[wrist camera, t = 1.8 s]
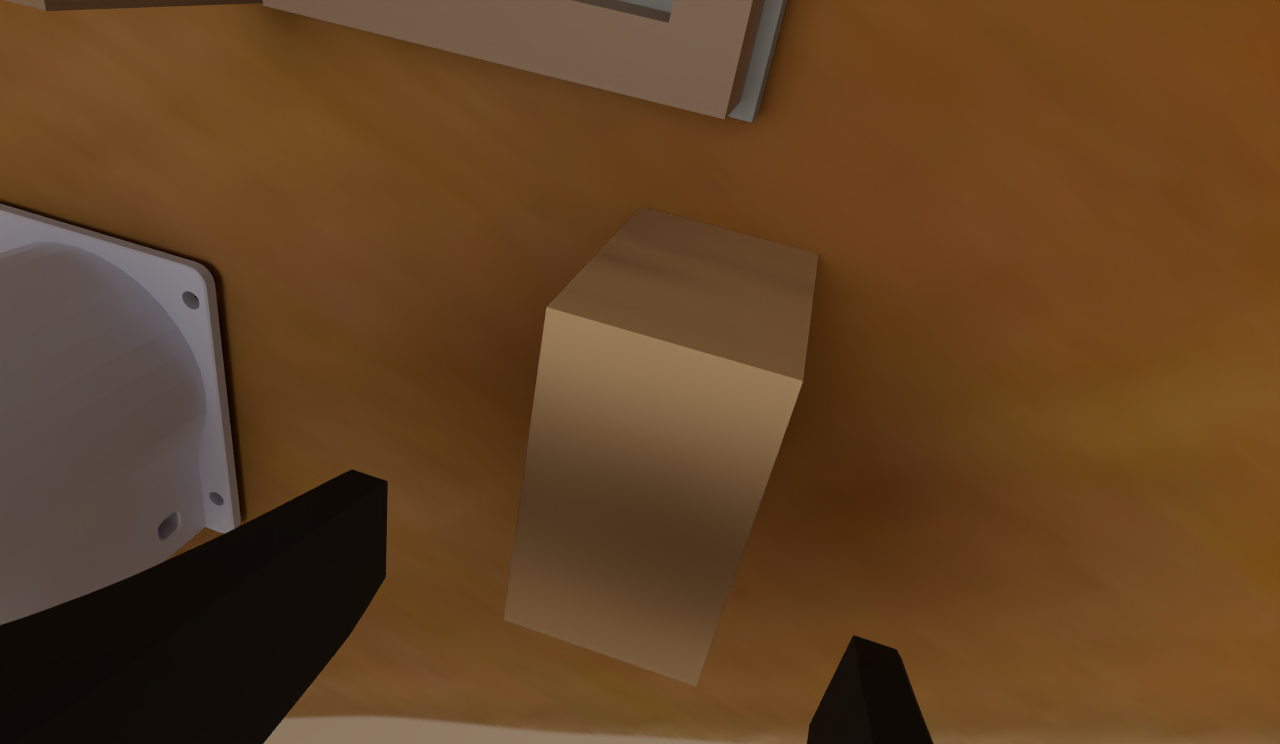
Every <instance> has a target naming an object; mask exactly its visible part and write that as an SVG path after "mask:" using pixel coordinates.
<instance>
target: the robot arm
mask: <svg viewBox="0 0 1280 744" xmlns="http://www.w3.org/2000/svg"><path fill="white" fill-rule="evenodd" d="M194 294H195V296H196V297H197V298H198V300H199V301H198V300H197V299H196V298H195V296H194ZM387 486H388V481H385V480H382V479H379V478H376V477H373V476H370V475H367V474H364V473H361V472H358V471H355V470H350V471H348V472H346V473H344V474H341V475H339V476H337V477H335V478H333V479H331V480H330V481H328V482H326V483H324V484H322V485H320V486H318V487H316V488H314V489H312V490H310V491H308V492H306V493H304V494H302V495H300V496H298V497H296V498H294V499H293V500H291V501H289V502H287V503H285V504H283V505H281V506H279V507H277V508H275V509H273V510H271V511H269V512H267V513H265V514H263V515H261V516H259V517H257V518H255V519H253V520H251V521H249V522H247V523H245V524H243V525H241V526H239V525H240V522H241V518H240V509H239V499H238V490H237V481H236V472H235V463H234V454H233V445H232V436H231V427H230V417H229V408H228V399H227V390H226V381H225V372H224V363H223V354H222V345H221V335H220V326H219V317H218V308H217V299H216V290H215V283H214V279H213V276H212V275H211V273H210V272H209V270H208V269H207V268H205V267H204V266H203V265H201V264H199V263H197V262H195V261H191V260H188V259H184V258H181V257H178V256H174V255H171V254H168V253H164V252H161V251H158V250H154V249H151V248H148V247H144V246H141V245H138V244H134V243H131V242H127V241H124V240H121V239H117V238H114V237H111V236H107V235H104V234H101V233H97V232H94V231H91V230H87V229H84V228H80V227H77V226H74V225H70V224H67V223H64V222H60V221H57V220H54V219H50V218H47V217H44V216H40V215H37V214H33V213H30V212H27V211H23V210H20V209H17V208H13V207H10V206H7V205H3V204H0V744H263V743H264V742H265V741H266V739H267V738H268V737H269V736H270V734H271V733H272V732H273V731H274V729H275V728H276V727H277V726H278V724H279V723H280V722H281V721H282V720H283V718H284V717H285V716H286V715H287V713H288V712H289V711H290V710H291V708H292V707H293V706H294V705H295V703H296V702H297V701H298V700H299V698H300V697H301V696H302V695H303V693H304V692H305V691H306V690H307V688H308V687H309V686H310V685H311V683H312V682H313V681H314V680H315V678H316V677H317V676H318V675H319V673H320V672H321V671H322V670H323V668H324V667H325V666H326V665H327V663H328V662H329V661H330V660H331V658H332V657H333V656H334V655H335V653H336V652H337V651H338V649H339V648H340V647H341V646H342V644H343V643H344V642H345V640H346V639H347V638H348V637H349V635H350V634H351V632H352V631H353V629H354V628H355V626H356V624H357V623H358V621H359V620H360V618H361V617H362V615H363V613H364V612H365V610H366V609H367V607H368V605H369V604H370V602H371V600H372V599H373V597H374V595H375V594H376V592H377V590H378V589H379V587H380V586H381V584H382V582H383V581H384V579H385V577H386V536H387ZM238 526H239V527H238ZM205 527H206V528H209V529H212V530H215V531H218V532H220V533H225V534H223V535H221V536H219V537H217V538H215V539H213V540H211V541H209V542H207V543H204V544H202V545H200V546H198V547H195V548H193V549H191V550H189V551H187V552H184V553H182V554H180V555H178V556H175V557H173V558H171V559H169V560H167V559H168V558H169V557H170V556H172V555H173V554H174V553H175V552H176V551H178V550H179V549H180V548H181V547H182V546H184V545H185V544H186V543H187V542H188V541H189V540H191V539H192V538H193V537H194V536H195V535H197V534H198V533H199V532H200V531H201V530H202V529H204V528H205ZM166 560H167V561H166ZM807 744H933V741H932V739H931V736H930V734H929V731H928V729H927V726H926V724H925V721H924V718H923V716H922V713H921V711H920V708H919V705H918V703H917V700H916V697H915V695H914V692H913V689H912V686H911V684H910V681H909V678H908V675H907V673H906V670H905V667H904V664H903V661H902V659H901V657H900V655H899V653H898V651H897V650H896V649H893V648H890V647H887V646H884V645H881V644H878V643H875V642H872V641H869V640H866V639H863V638H860V637H857V636H854V635H853V637H852V639H851V641H850V643H849V645H848V647H847V649H846V651H845V653H844V655H843V657H842V659H841V661H840V663H839V666H838V668H837V670H836V672H835V674H834V676H833V678H832V680H831V682H830V684H829V686H828V688H827V690H826V692H825V694H824V696H823V698H822V700H821V702H820V704H819V706H818V709H817V711H816V713H815V715H814V717H813V719H812V721H811V723H810V725H809V733H808V740H807Z"/></svg>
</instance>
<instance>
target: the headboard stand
mask: <svg viewBox="0 0 1280 744" xmlns="http://www.w3.org/2000/svg"><path fill="white" fill-rule="evenodd" d="M6 1H10V2H13V3H17V4H21V5H25V6H29V7H33V8H37V9H41V10H44V11H57V10H84V9H111V8H138V7H165V6H192V5H220V4H247V3H263V6H267V7H271V8H275V9H279V10H283V11H287V12H291V13H295V14H299V15H303V16H307V17H311V18H315V19H319V20H323V21H327V22H331V23H335V24H340V25H344V26H348V27H352V28H356V29H360V30H364V31H368V32H372V33H376V34H380V35H384V36H388V37H392V38H396V39H400V40H404V41H408V42H413V43H417V44H421V45H425V46H429V47H433V48H437V49H441V50H445V51H449V52H453V53H457V54H461V55H465V56H469V57H473V58H477V59H481V60H486V61H490V62H494V63H498V64H502V65H506V66H510V67H514V68H518V69H522V70H526V71H530V72H534V73H538V74H542V75H546V76H550V77H554V78H558V79H563V80H567V81H571V82H575V83H579V84H583V85H587V86H591V87H595V88H599V89H603V90H607V91H611V92H615V93H619V94H623V95H627V96H631V97H636V98H640V99H644V100H648V101H652V102H656V103H660V104H664V105H668V106H672V107H676V108H680V109H684V110H688V111H692V112H696V113H700V114H704V115H709V116H713V117H717V118H721V119H725V118H726V117H731V118H736V119H740V120H744V121H748V122H753V120H754V119H755V117H756V116H757V114H758V113H759V110H760V106H761V102H762V98H763V94H764V90H765V86H766V83H767V79H768V75H769V71H770V67H771V63H772V59H773V56H774V52H775V48H776V44H777V40H778V36H779V32H780V29H781V25H782V21H783V17H784V13H785V9H786V5H787V1H788V0H6Z"/></svg>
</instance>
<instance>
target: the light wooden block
mask: <svg viewBox="0 0 1280 744" xmlns="http://www.w3.org/2000/svg"><path fill="white" fill-rule="evenodd" d="M818 256H819V254H818V253H815V252H811V251H807V250H803V249H800V248H796V247H792V246H788V245H784V244H781V243H777V242H773V241H769V240H766V239H762V238H758V237H754V236H751V235H747V234H743V233H739V232H735V231H732V230H728V229H724V228H720V227H717V226H713V225H709V224H705V223H702V222H698V221H694V220H690V219H686V218H683V217H679V216H675V215H671V214H668V213H664V212H660V211H656V210H653V209H649V208H645V207H640V208H639V209H638V210H637V211H636V212H635V213H634V215H633V216H632V217H631V218H630V219H629V220H628V221H627V222H626V223H625V224H624V225H623V226H622V227H621V228H620V229H619V231H618V232H617V233H616V234H615V235H614V236H613V237H612V238H611V239H610V240H609V241H608V242H607V243H606V244H605V245H604V246H603V248H602V249H601V250H600V251H599V252H598V253H597V254H596V255H595V256H594V257H593V258H592V259H591V260H590V261H589V262H588V263H587V265H586V266H585V267H584V268H583V269H582V270H581V271H580V272H579V273H578V274H577V275H576V276H575V277H574V278H573V279H572V281H571V282H570V283H569V284H568V285H567V286H566V287H565V288H564V289H563V290H562V291H561V292H560V293H559V294H558V295H557V296H556V298H555V299H554V300H553V301H552V302H551V303H550V304H549V305H548V306H547V307H546V314H545V322H544V329H543V336H542V343H541V351H540V358H539V365H538V373H537V380H536V387H535V394H534V402H533V409H532V416H531V423H530V431H529V438H528V445H527V452H526V460H525V467H524V474H523V481H522V489H521V496H520V503H519V511H518V518H517V525H516V532H515V540H514V547H513V554H512V561H511V569H510V576H509V583H508V590H507V598H506V605H505V612H504V620H505V621H508V622H511V623H513V624H516V625H519V626H522V627H525V628H528V629H531V630H534V631H537V632H539V633H542V634H545V635H548V636H551V637H554V638H557V639H560V640H563V641H565V642H568V643H571V644H574V645H577V646H580V647H583V648H586V649H589V650H591V651H594V652H597V653H600V654H603V655H606V656H609V657H612V658H614V659H617V660H620V661H623V662H626V663H629V664H632V665H635V666H638V667H640V668H643V669H646V670H649V671H652V672H655V673H658V674H661V675H664V676H666V677H669V678H672V679H675V680H678V681H681V682H684V683H687V684H689V685H692V686H695V687H696V686H697V683H698V681H699V678H700V675H701V672H702V669H703V666H704V663H705V660H706V658H707V655H708V652H709V649H710V646H711V643H712V640H713V638H714V635H715V632H716V629H717V626H718V623H719V620H720V618H721V615H722V612H723V609H724V606H725V603H726V600H727V598H728V595H729V592H730V589H731V586H732V583H733V580H734V577H735V575H736V572H737V569H738V566H739V563H740V560H741V557H742V555H743V552H744V549H745V546H746V543H747V540H748V537H749V535H750V532H751V529H752V526H753V523H754V520H755V517H756V515H757V512H758V509H759V506H760V503H761V500H762V497H763V494H764V492H765V489H766V486H767V483H768V480H769V477H770V474H771V472H772V469H773V466H774V463H775V460H776V457H777V454H778V452H779V449H780V446H781V443H782V440H783V437H784V434H785V432H786V429H787V426H788V423H789V420H790V417H791V414H792V411H793V409H794V406H795V403H796V400H797V397H798V394H799V391H800V389H801V386H802V383H803V378H804V370H805V362H806V354H807V345H808V337H809V329H810V321H811V313H812V305H813V296H814V288H815V280H816V272H817V264H818Z"/></svg>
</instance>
